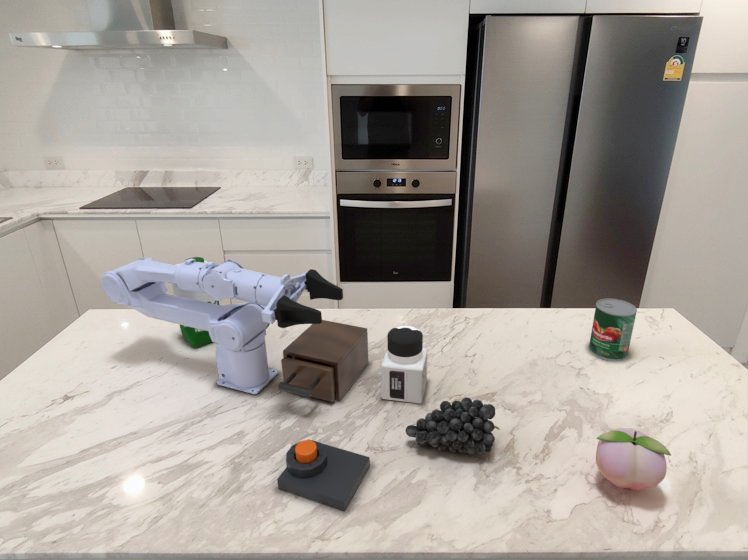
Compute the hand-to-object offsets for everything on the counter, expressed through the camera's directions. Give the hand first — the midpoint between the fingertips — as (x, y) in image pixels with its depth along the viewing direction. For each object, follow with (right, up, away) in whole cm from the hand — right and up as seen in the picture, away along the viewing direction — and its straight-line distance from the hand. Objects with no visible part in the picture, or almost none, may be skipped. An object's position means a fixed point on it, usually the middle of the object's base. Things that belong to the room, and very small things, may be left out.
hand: (331, 305), depth 82 cm
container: (+13, -17, +11) cm, 24 cm away
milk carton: (-34, -10, +31) cm, 47 cm away
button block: (0, -26, -9) cm, 27 cm away
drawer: (-4, -16, +12) cm, 20 cm away
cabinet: (-2, -15, +16) cm, 22 cm away
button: (-3, -22, -9) cm, 24 cm away
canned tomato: (+58, -12, +23) cm, 64 cm away
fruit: (+20, -23, -2) cm, 30 cm away
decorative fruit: (+45, -26, -10) cm, 53 cm away
